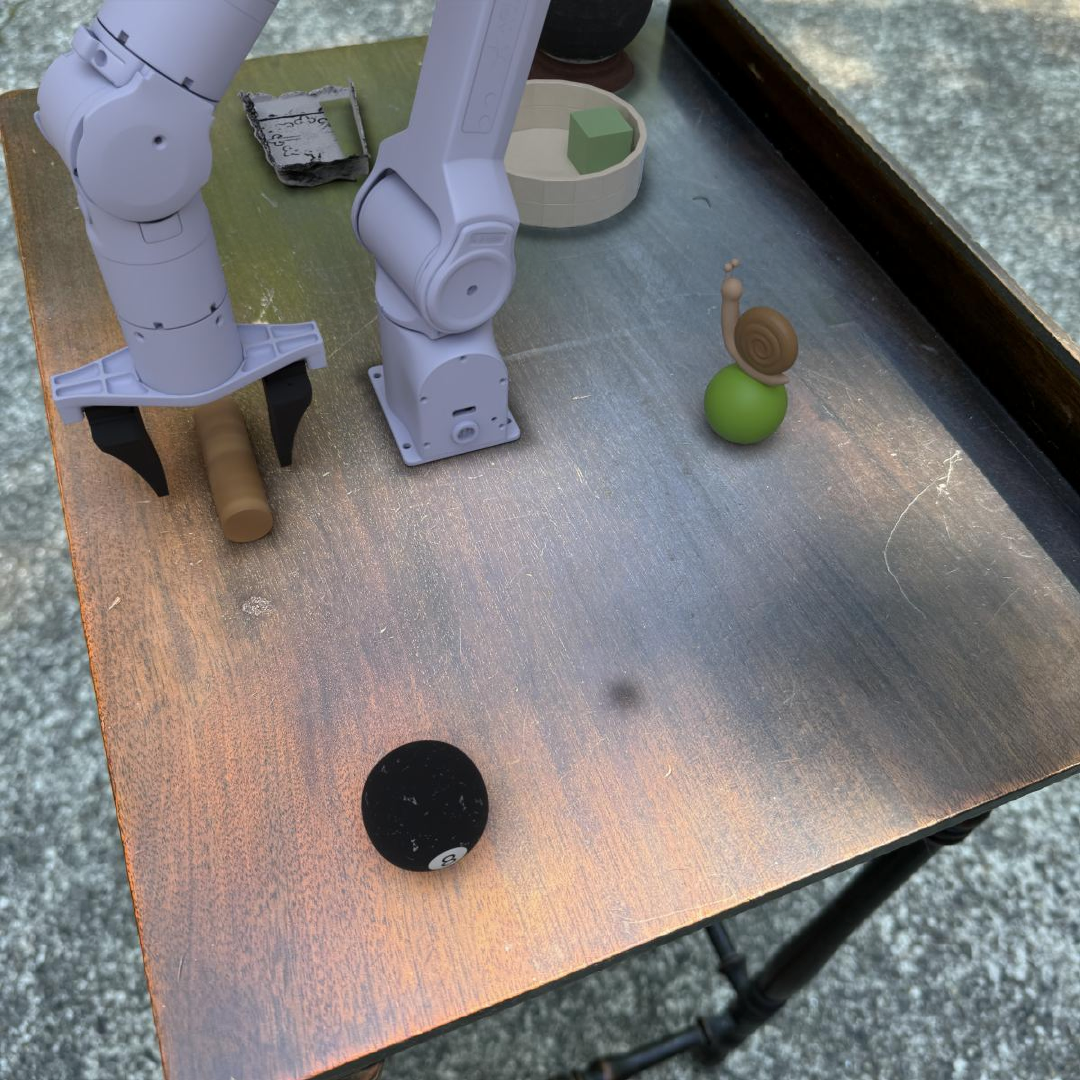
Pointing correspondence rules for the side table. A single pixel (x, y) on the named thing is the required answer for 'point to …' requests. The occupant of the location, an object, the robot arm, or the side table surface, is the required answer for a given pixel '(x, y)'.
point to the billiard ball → (424, 805)
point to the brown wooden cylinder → (232, 471)
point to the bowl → (547, 173)
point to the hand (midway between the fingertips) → (223, 469)
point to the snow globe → (589, 42)
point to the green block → (598, 139)
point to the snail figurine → (750, 369)
